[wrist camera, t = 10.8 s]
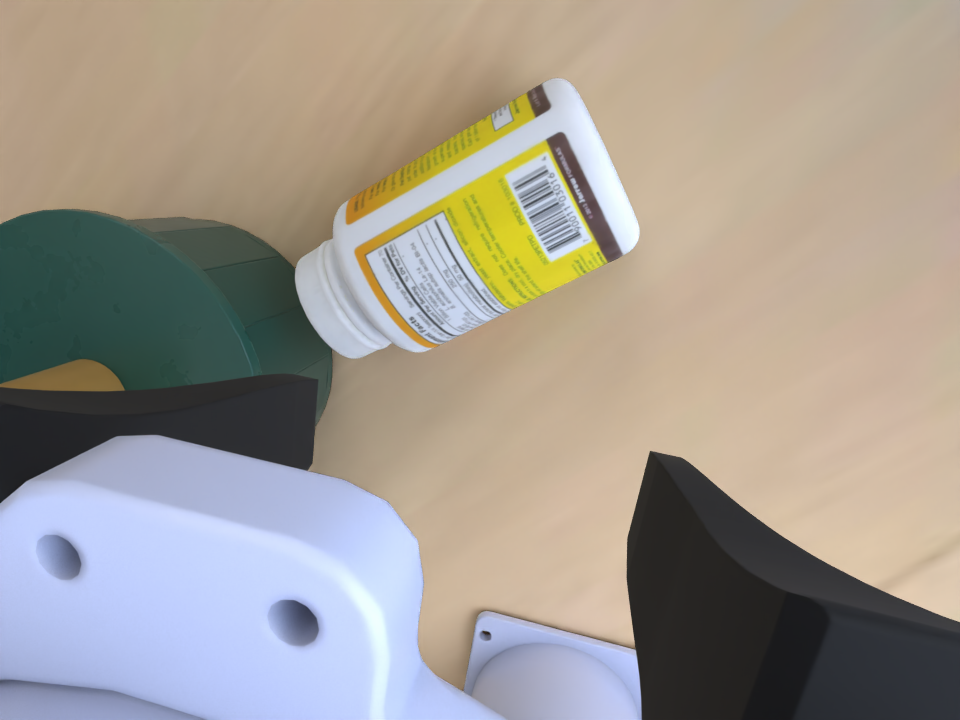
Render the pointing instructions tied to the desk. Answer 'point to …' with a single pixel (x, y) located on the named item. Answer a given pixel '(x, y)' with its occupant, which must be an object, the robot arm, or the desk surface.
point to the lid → (110, 309)
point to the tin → (255, 295)
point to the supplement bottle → (470, 229)
